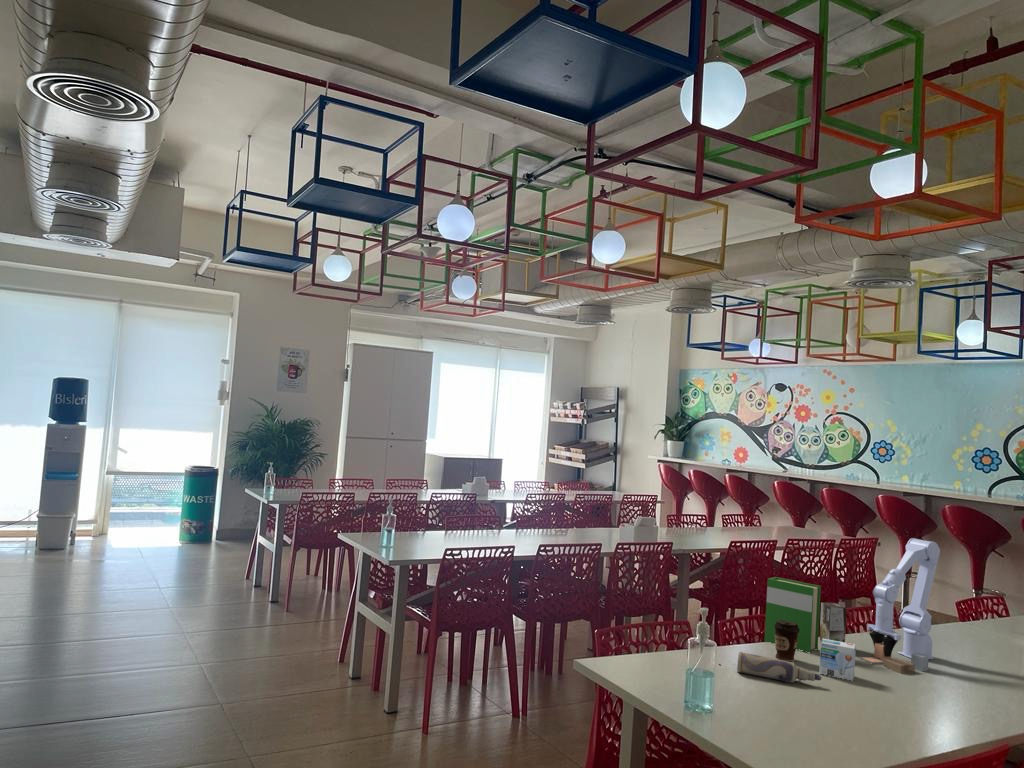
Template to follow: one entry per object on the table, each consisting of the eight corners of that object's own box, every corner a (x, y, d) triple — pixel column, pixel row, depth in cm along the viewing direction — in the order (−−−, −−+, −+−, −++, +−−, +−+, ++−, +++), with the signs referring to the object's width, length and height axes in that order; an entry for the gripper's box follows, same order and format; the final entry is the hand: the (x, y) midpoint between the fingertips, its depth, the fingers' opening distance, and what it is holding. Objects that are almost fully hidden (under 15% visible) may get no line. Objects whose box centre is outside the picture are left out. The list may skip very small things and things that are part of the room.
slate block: (916, 666, 263) (917, 652, 263) (927, 670, 260) (928, 656, 260) (910, 668, 261) (911, 654, 261) (922, 671, 257) (922, 657, 258)
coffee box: (845, 651, 277) (847, 608, 278) (828, 649, 277) (830, 606, 278) (835, 644, 286) (837, 602, 287) (818, 642, 286) (820, 601, 287)
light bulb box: (818, 674, 245) (820, 642, 246) (820, 669, 251) (821, 637, 252) (853, 681, 240) (855, 648, 241) (854, 676, 246) (856, 644, 247)
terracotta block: (883, 656, 273) (883, 643, 273) (891, 660, 269) (891, 646, 269) (874, 656, 272) (874, 643, 272) (882, 660, 268) (882, 646, 268)
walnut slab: (896, 666, 262) (897, 658, 263) (914, 673, 256) (914, 664, 256) (883, 667, 260) (883, 659, 260) (900, 674, 253) (900, 665, 254)
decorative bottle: (735, 675, 238) (736, 654, 238) (737, 669, 245) (739, 648, 245) (821, 691, 228) (822, 669, 228) (821, 684, 235) (821, 663, 235)
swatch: (873, 657, 270) (873, 656, 270) (888, 664, 263) (888, 662, 263) (858, 658, 268) (858, 656, 268) (871, 664, 262) (872, 662, 262)
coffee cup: (785, 663, 254) (787, 626, 255) (767, 656, 262) (769, 619, 262) (802, 661, 258) (804, 624, 259) (784, 654, 266) (786, 618, 266)
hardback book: (817, 650, 275) (820, 586, 277) (809, 653, 270) (812, 588, 272) (772, 638, 288) (775, 577, 289) (764, 641, 282) (767, 578, 284)
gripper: (861, 612, 277) (859, 648, 277) (890, 622, 263) (888, 660, 263) (876, 612, 279) (875, 648, 278) (906, 622, 265) (904, 660, 264)
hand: (882, 654), depth 271 cm, fingers closed on terracotta block, 4 cm apart
